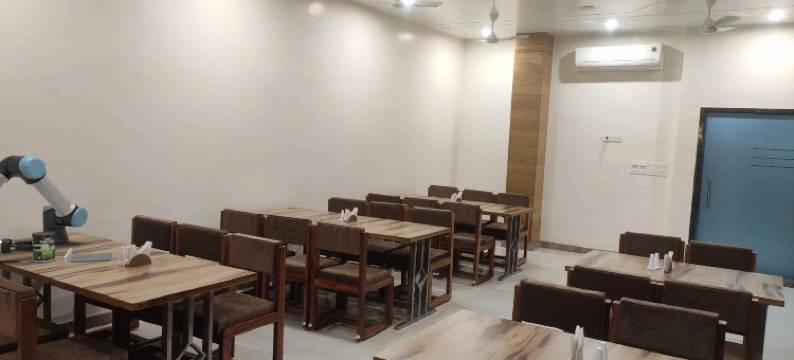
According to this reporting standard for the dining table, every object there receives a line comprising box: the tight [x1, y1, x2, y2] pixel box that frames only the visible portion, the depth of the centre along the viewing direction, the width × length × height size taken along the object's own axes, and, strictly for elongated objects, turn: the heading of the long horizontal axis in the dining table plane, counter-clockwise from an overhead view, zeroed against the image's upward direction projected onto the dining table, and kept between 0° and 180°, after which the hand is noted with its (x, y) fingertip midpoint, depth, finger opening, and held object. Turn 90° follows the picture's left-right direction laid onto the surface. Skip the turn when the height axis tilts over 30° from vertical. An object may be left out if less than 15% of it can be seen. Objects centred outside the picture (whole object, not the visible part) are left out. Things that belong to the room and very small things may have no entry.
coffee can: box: [31, 231, 56, 263], centre depth 298 cm, size 10×10×14 cm
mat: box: [70, 252, 113, 263], centre depth 307 cm, size 18×18×1 cm
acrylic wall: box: [63, 247, 73, 265], centre depth 303 cm, size 24×1×4 cm, turn 23°
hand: (50, 244), depth 299 cm, fingers open, 13 cm apart
